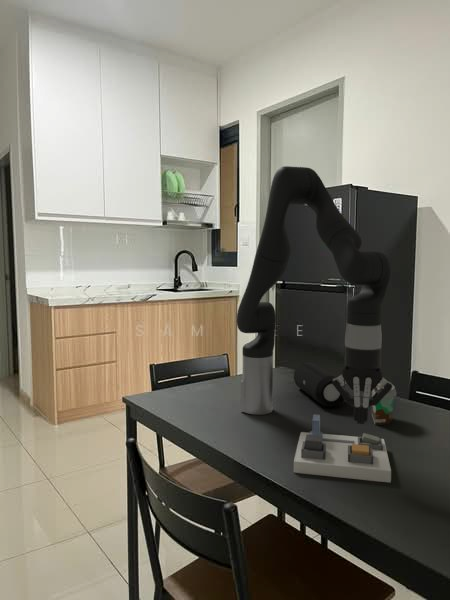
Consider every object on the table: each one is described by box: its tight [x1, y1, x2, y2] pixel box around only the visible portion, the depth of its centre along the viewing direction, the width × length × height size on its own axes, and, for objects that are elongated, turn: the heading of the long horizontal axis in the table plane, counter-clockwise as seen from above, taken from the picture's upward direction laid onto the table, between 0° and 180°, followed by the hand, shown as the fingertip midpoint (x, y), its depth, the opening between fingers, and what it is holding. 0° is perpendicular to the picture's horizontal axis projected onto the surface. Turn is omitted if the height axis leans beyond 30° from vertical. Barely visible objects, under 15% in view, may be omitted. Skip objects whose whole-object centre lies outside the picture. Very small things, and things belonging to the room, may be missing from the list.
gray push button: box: [305, 434, 323, 451], centre depth 106 cm, size 4×4×2 cm
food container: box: [371, 382, 398, 426], centre depth 135 cm, size 12×6×10 cm, turn 168°
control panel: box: [293, 431, 392, 483], centre depth 108 cm, size 20×18×4 cm
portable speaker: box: [293, 361, 346, 408], centre depth 158 cm, size 26×10×10 cm, turn 11°
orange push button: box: [351, 444, 369, 455], centre depth 104 cm, size 4×4×2 cm
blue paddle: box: [309, 414, 324, 436], centre depth 114 cm, size 3×4×5 cm
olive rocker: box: [361, 432, 380, 445], centre depth 111 cm, size 4×3×1 cm
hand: (360, 422), depth 103 cm, fingers closed
